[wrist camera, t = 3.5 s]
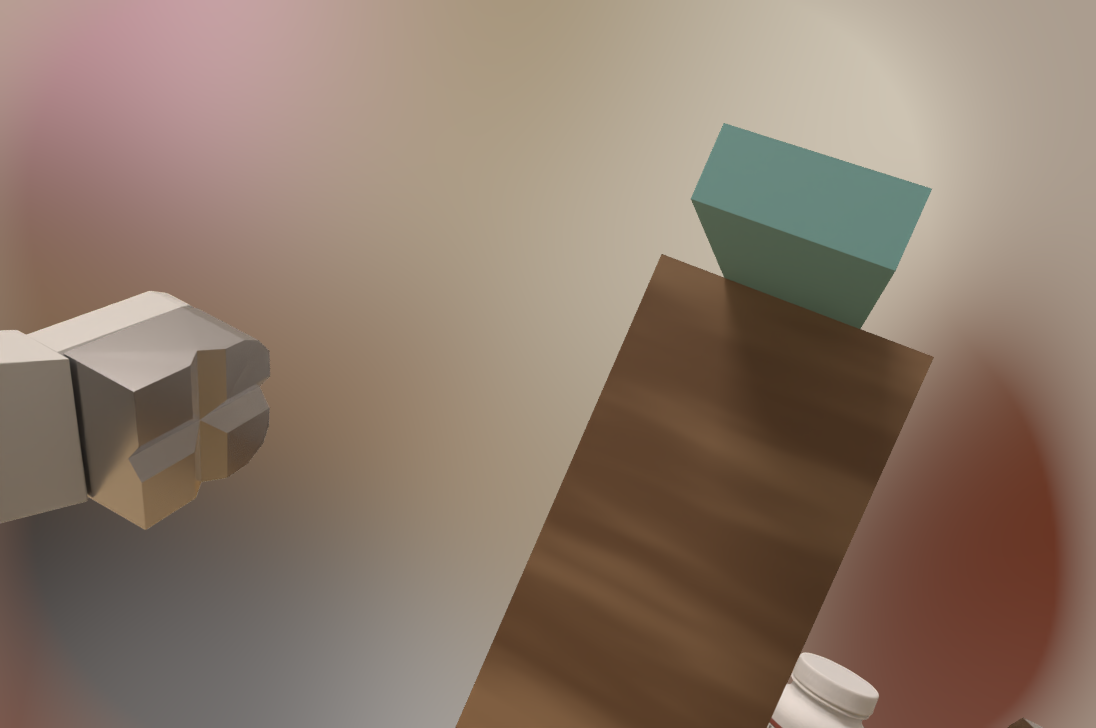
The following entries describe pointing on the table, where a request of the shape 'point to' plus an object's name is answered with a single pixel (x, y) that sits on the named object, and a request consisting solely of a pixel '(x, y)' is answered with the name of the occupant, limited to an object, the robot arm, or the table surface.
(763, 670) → the walnut shelf
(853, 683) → the pill bottle
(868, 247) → the lid slat
